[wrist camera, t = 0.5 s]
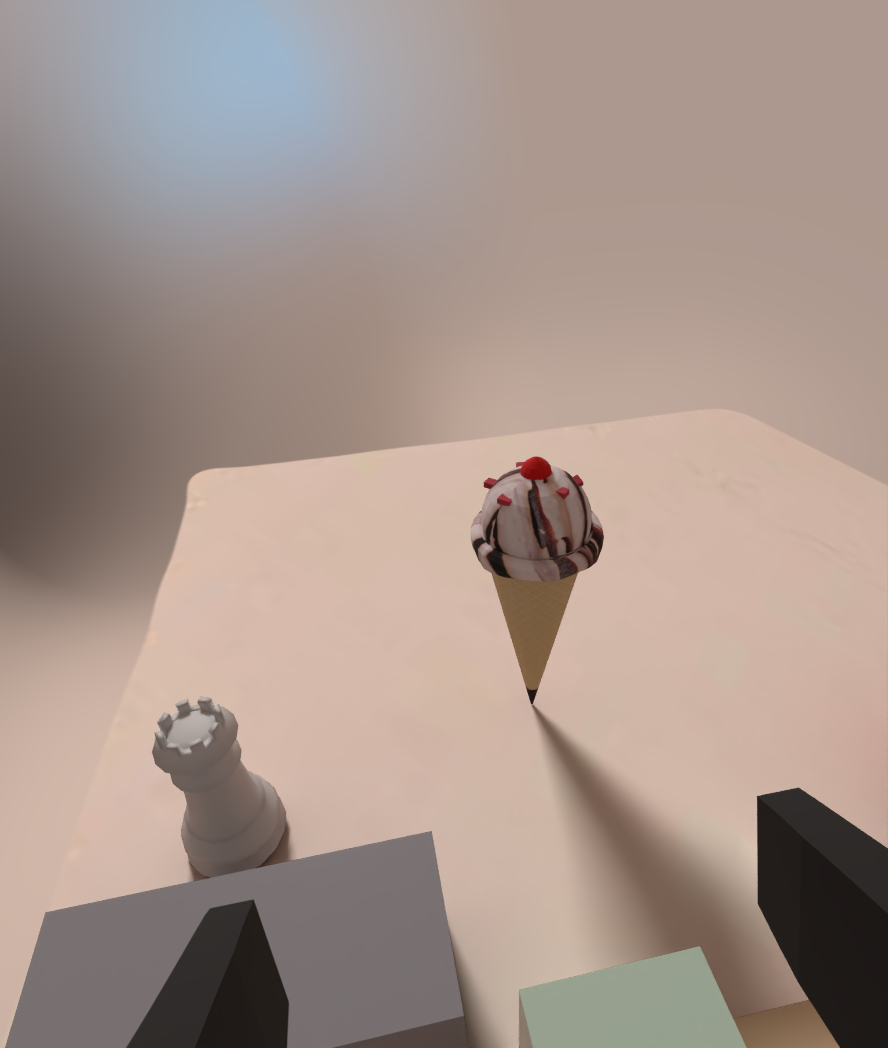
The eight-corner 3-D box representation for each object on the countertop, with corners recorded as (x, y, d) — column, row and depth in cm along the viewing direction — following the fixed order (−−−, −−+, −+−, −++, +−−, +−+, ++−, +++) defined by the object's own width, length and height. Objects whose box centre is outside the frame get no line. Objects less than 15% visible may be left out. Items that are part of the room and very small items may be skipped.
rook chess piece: (295, 862, 29) (253, 749, 24) (190, 901, 28) (124, 791, 23) (281, 777, 32) (241, 665, 28) (187, 809, 31) (129, 697, 27)
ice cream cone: (605, 690, 35) (633, 443, 27) (557, 770, 32) (572, 512, 23) (511, 650, 38) (509, 414, 29) (457, 719, 34) (437, 472, 26)
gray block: (443, 911, 27) (431, 831, 23) (472, 1084, 22) (464, 1015, 19) (110, 986, 25) (45, 912, 22) (69, 1187, 21) (-21, 1133, 17)
